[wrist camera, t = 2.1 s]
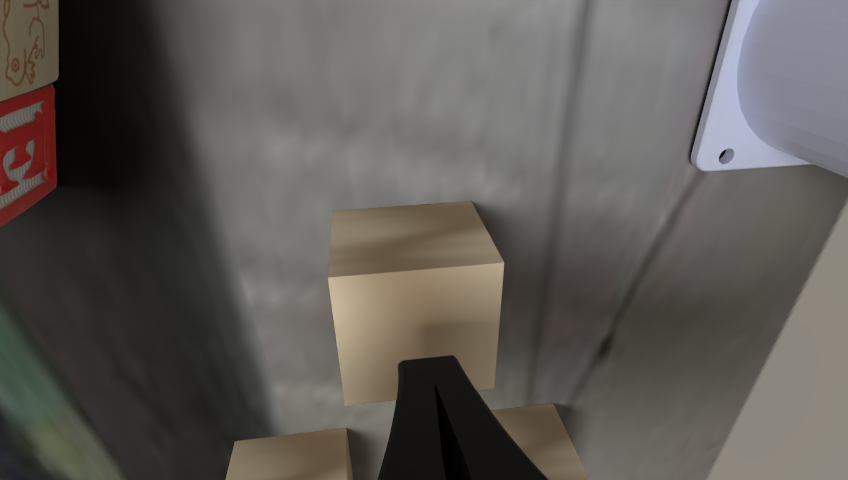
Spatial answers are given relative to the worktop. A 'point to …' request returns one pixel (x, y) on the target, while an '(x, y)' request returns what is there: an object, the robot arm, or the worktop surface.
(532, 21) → the worktop surface
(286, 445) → the two-dot maple block
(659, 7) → the worktop surface
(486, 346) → the plain maple block
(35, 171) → the stack of blocks
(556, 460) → the one-dot maple block
